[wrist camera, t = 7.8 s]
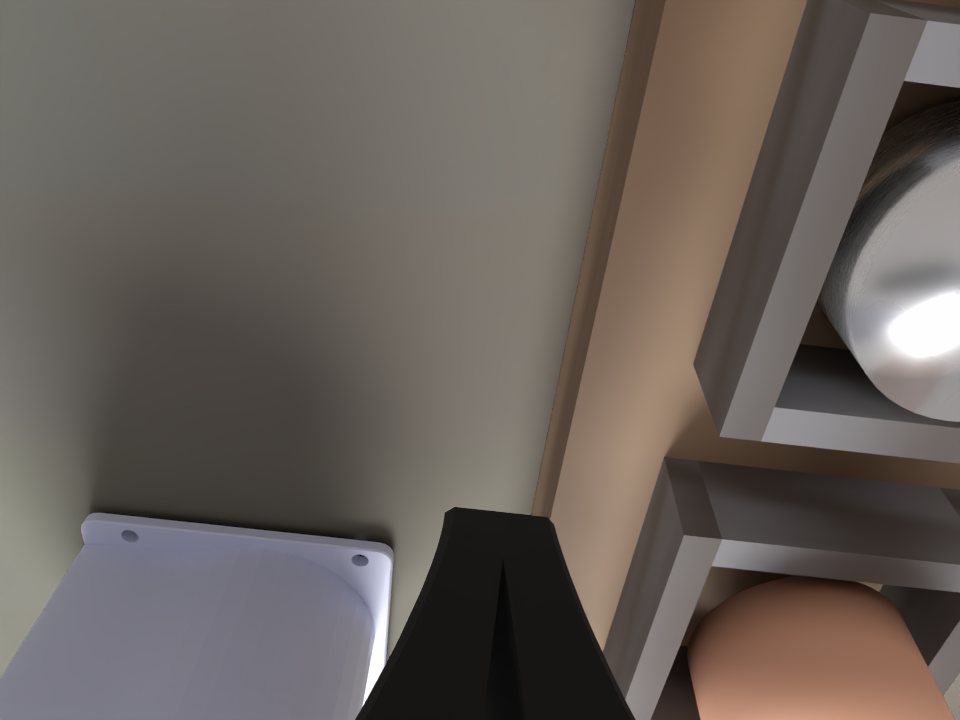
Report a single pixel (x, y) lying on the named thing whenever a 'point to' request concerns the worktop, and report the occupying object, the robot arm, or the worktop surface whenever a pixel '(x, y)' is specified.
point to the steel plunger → (905, 266)
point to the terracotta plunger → (810, 656)
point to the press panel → (744, 338)
